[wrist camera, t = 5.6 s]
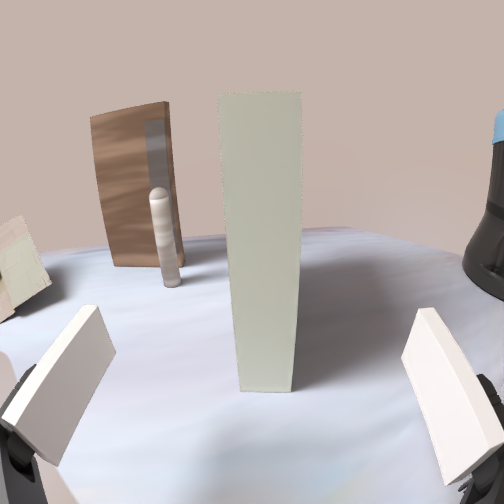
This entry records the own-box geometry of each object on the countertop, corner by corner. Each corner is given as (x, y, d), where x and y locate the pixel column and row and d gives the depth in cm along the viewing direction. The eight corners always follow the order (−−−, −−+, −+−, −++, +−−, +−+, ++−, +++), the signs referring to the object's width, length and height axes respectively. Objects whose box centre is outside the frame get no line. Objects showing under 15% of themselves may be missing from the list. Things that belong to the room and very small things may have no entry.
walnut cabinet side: (178, 287, 31) (155, 97, 23) (97, 284, 32) (66, 119, 24) (192, 261, 37) (177, 100, 29) (119, 260, 38) (96, 116, 29)
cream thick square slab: (300, 391, 18) (316, 92, 11) (230, 390, 19) (202, 95, 11) (291, 273, 33) (291, 109, 26) (249, 273, 34) (242, 110, 26)
